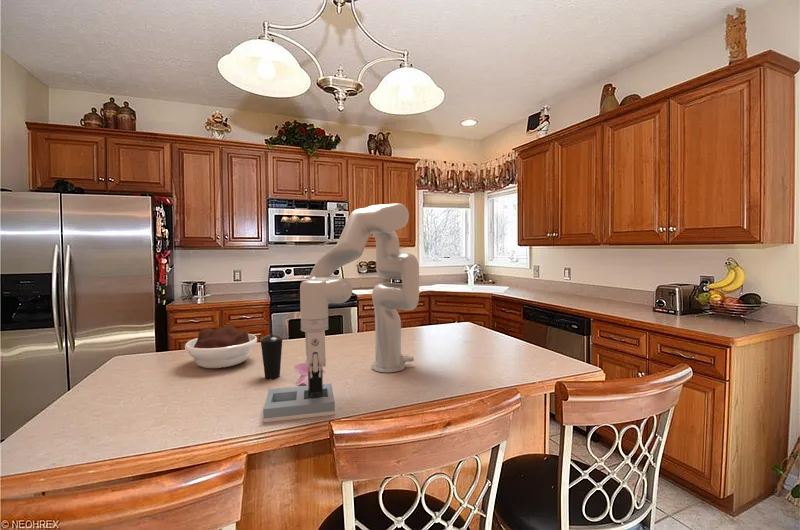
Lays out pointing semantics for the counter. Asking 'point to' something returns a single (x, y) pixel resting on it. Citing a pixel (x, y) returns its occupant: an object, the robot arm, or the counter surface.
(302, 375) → the lily
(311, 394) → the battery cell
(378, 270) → the robot arm
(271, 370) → the drinking cup
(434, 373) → the counter surface
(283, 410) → the tray
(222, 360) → the white bowl of brownies
